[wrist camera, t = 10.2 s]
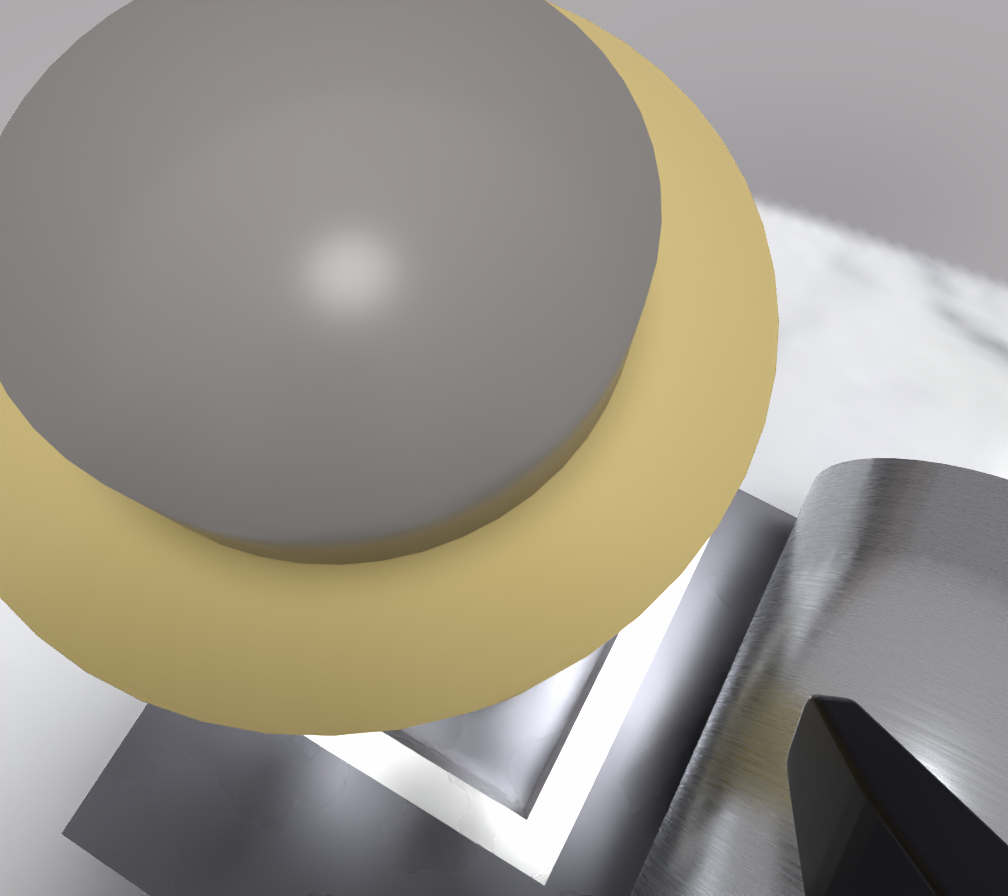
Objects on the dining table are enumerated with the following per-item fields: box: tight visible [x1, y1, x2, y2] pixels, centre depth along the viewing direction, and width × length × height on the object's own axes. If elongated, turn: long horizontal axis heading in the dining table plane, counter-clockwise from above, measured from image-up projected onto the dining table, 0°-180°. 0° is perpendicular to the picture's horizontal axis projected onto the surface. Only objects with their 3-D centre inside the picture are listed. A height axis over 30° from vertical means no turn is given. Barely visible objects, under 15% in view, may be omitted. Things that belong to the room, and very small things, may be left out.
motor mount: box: [62, 458, 1008, 896], centre depth 14 cm, size 14×17×8 cm
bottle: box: [0, 0, 779, 736], centre depth 11 cm, size 6×6×14 cm
